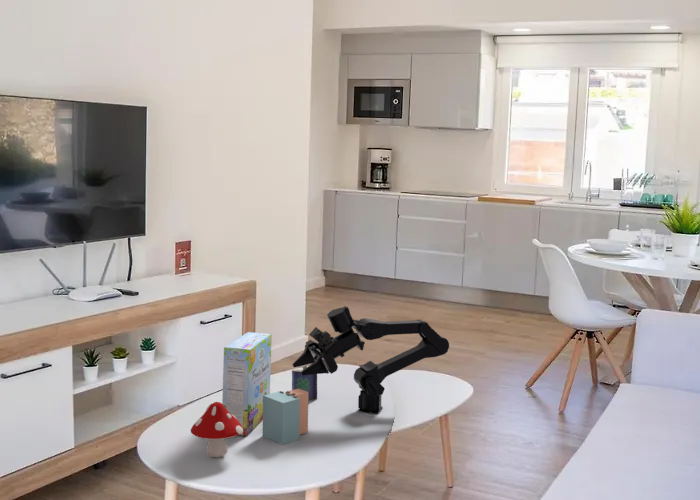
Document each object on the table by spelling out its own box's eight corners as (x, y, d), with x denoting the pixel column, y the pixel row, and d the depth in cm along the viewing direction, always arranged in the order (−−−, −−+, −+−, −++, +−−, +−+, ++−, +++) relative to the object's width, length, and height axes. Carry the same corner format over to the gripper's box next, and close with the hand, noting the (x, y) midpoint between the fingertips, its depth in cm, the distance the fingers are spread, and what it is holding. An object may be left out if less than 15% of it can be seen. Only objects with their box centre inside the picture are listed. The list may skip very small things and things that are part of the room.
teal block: (278, 431, 238) (279, 390, 237) (299, 439, 232) (299, 397, 231) (262, 435, 234) (262, 394, 233) (282, 444, 228) (283, 401, 226)
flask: (290, 396, 272) (290, 364, 270) (294, 394, 274) (295, 362, 273) (315, 400, 268) (315, 368, 266) (319, 398, 270) (319, 366, 269)
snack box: (249, 437, 233) (250, 349, 230) (220, 434, 235) (220, 347, 231) (271, 413, 254) (272, 332, 251) (245, 411, 256) (245, 330, 252)
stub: (297, 428, 241) (298, 387, 239) (307, 431, 237) (308, 390, 236) (284, 431, 237) (285, 390, 236) (294, 436, 234) (295, 394, 232)
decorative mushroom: (185, 449, 223) (185, 396, 221) (234, 443, 228) (234, 391, 226) (197, 469, 210) (197, 412, 208) (249, 461, 215) (249, 406, 213)
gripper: (320, 316, 259) (278, 340, 255) (340, 328, 242) (294, 355, 238) (335, 345, 262) (293, 370, 258) (355, 360, 245) (310, 387, 241)
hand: (297, 369), depth 249 cm, fingers open, 9 cm apart
